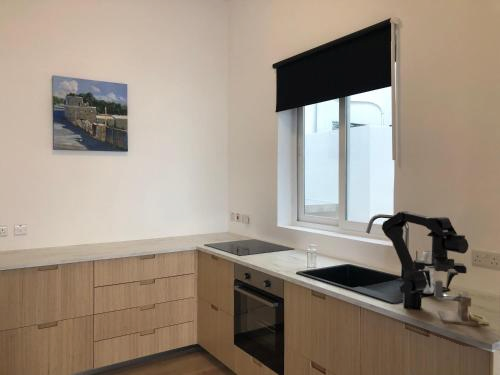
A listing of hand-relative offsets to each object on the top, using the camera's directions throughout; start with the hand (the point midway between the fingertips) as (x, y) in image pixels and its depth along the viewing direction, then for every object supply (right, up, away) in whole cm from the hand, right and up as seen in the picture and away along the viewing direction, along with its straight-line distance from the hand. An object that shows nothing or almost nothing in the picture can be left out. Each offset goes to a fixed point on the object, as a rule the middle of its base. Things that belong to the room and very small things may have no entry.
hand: (438, 288), depth 162 cm
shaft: (+4, -5, -1) cm, 6 cm away
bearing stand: (+7, -12, -2) cm, 14 cm away
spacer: (+11, -10, -3) cm, 15 cm away
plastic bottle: (+9, -11, +32) cm, 35 cm away
